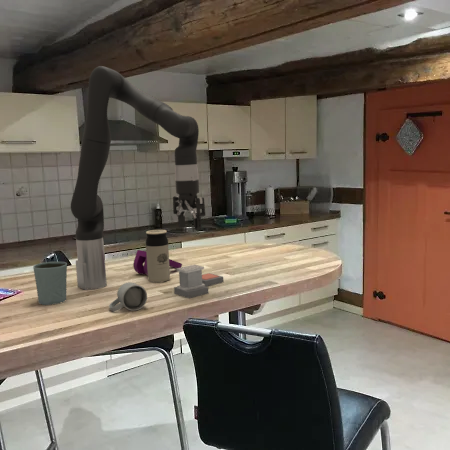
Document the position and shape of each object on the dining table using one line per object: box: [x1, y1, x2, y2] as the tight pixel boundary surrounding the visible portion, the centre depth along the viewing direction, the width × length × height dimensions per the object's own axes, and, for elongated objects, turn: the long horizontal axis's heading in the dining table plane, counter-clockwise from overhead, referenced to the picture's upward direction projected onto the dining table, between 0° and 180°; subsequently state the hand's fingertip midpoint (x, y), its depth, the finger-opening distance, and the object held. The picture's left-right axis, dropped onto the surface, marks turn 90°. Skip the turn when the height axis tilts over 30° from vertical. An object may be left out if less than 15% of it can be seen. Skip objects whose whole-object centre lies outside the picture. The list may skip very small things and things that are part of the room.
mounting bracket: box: [132, 249, 183, 276], centre depth 194 cm, size 9×8×18 cm
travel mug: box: [145, 229, 171, 283], centre depth 182 cm, size 8×8×18 cm
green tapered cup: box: [32, 261, 68, 306], centre depth 161 cm, size 10×10×12 cm
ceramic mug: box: [108, 281, 148, 312], centre depth 150 cm, size 11×8×8 cm
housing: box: [175, 264, 205, 291], centre depth 163 cm, size 8×5×7 cm, turn 129°
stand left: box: [173, 286, 210, 299], centre depth 164 cm, size 8×8×2 cm
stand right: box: [202, 272, 224, 287], centre depth 177 cm, size 8×8×2 cm
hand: (189, 228), depth 164 cm, fingers open, 8 cm apart
